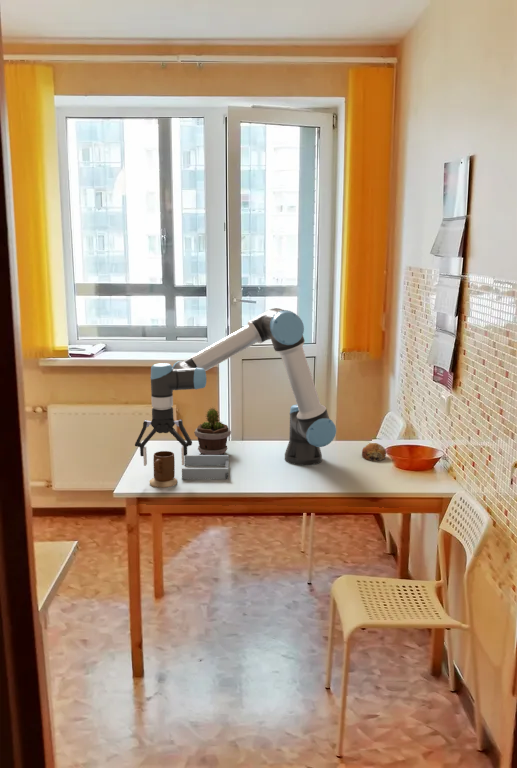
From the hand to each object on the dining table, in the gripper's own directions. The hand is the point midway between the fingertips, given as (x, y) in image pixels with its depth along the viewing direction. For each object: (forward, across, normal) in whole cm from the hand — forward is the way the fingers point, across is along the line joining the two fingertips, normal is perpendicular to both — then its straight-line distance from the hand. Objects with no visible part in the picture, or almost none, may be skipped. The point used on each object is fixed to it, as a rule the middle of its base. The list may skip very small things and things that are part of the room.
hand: (164, 464), depth 239 cm
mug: (+6, +1, 0) cm, 6 cm away
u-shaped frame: (+7, -14, -12) cm, 20 cm away
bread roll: (+9, -83, -30) cm, 89 cm away
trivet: (+7, 0, 0) cm, 7 cm away
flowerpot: (+8, -16, -35) cm, 40 cm away
